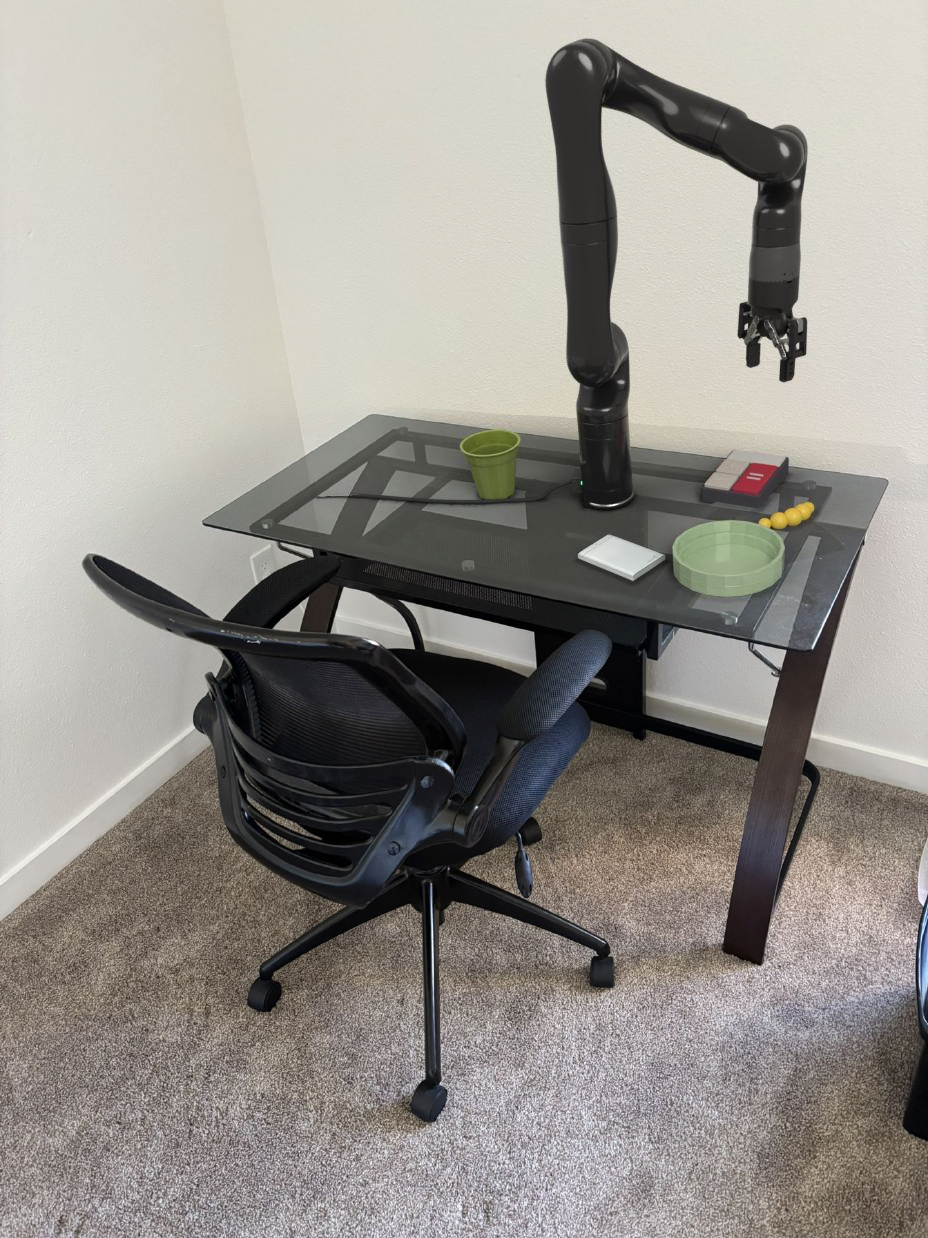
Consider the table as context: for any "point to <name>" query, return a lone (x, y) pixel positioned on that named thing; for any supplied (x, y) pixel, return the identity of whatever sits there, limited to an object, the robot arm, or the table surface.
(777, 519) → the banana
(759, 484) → the calculator
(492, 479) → the plant pot
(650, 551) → the hard drive
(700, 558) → the bowl
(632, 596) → the table surface
